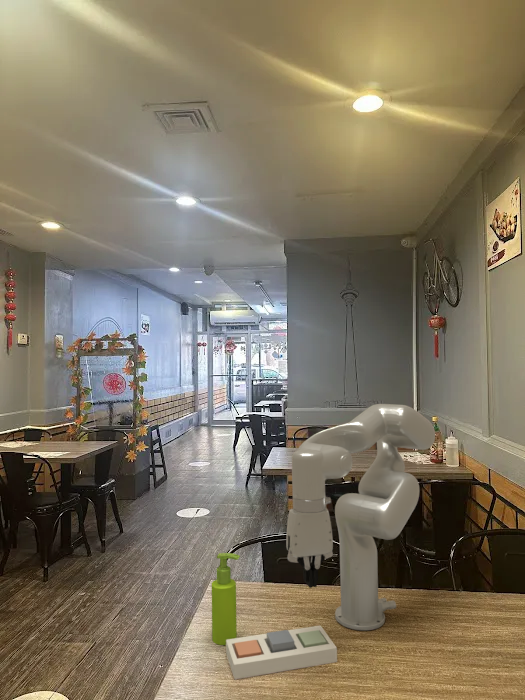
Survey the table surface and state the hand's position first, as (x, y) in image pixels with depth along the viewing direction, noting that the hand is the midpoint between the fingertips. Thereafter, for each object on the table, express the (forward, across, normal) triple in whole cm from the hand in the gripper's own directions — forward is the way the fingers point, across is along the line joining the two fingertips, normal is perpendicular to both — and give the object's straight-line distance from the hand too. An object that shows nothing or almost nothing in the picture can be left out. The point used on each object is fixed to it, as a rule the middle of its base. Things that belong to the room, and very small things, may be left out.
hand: (311, 584), depth 114 cm
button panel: (+15, +8, 0) cm, 17 cm away
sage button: (+14, 0, 0) cm, 14 cm away
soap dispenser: (+15, +18, -11) cm, 26 cm away
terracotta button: (+14, +15, 0) cm, 20 cm away
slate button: (+12, +8, 0) cm, 15 cm away
